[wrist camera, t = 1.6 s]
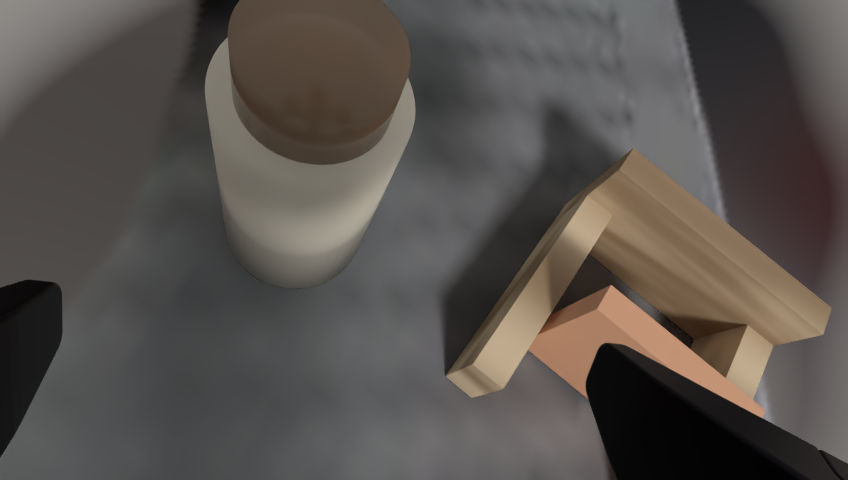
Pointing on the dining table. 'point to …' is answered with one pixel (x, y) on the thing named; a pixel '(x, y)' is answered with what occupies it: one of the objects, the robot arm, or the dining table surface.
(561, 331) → the plate
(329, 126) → the jar
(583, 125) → the dining table surface
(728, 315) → the wooden frame
